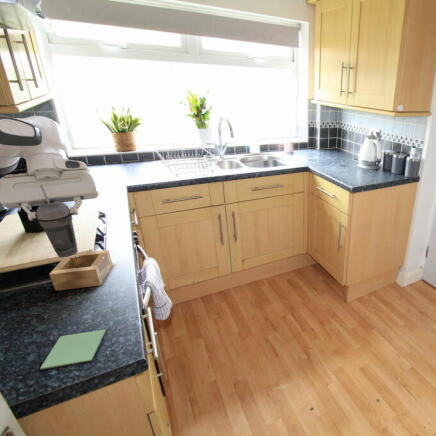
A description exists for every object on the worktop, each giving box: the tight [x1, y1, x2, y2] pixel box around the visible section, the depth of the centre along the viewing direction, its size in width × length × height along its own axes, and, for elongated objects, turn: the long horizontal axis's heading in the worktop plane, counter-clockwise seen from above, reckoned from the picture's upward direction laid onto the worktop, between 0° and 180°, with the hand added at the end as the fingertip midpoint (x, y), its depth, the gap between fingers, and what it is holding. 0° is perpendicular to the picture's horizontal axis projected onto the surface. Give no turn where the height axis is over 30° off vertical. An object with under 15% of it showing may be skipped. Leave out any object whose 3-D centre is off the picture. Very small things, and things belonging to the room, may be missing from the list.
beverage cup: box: [36, 184, 79, 259], centre depth 84 cm, size 7×7×20 cm
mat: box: [39, 328, 107, 371], centre depth 77 cm, size 10×10×1 cm
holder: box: [48, 249, 114, 292], centre depth 102 cm, size 12×12×6 cm
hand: (54, 216), depth 83 cm, fingers closed on beverage cup, 7 cm apart
